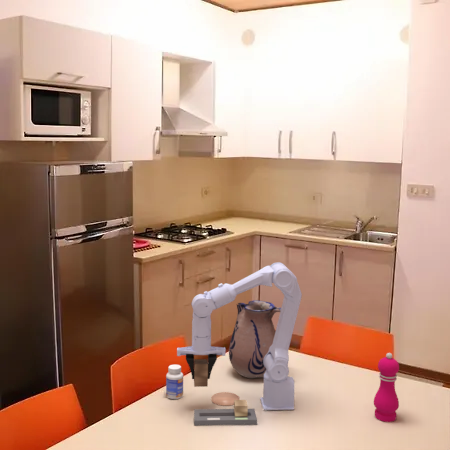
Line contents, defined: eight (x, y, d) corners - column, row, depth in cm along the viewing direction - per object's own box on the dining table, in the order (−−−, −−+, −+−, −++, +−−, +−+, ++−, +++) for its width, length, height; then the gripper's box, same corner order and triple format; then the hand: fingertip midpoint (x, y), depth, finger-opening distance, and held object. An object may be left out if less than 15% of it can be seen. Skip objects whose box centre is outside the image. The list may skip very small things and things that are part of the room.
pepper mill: (384, 425, 166) (388, 359, 163) (367, 414, 172) (371, 350, 169) (403, 419, 169) (407, 355, 166) (385, 409, 175) (389, 347, 173)
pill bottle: (180, 400, 179) (180, 370, 177) (163, 398, 180) (164, 369, 178) (185, 393, 184) (185, 364, 183) (169, 391, 185) (169, 362, 184)
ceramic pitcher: (231, 362, 211) (233, 296, 207) (289, 366, 208) (291, 299, 204) (225, 381, 194) (226, 310, 190) (287, 386, 191) (290, 314, 187)
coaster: (238, 393, 185) (238, 391, 185) (240, 405, 176) (241, 404, 176) (210, 393, 184) (210, 392, 184) (211, 406, 175) (211, 404, 175)
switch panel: (254, 413, 171) (254, 408, 171) (257, 424, 164) (257, 419, 164) (194, 413, 170) (194, 408, 170) (194, 425, 163) (194, 420, 163)
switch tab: (246, 410, 169) (246, 399, 169) (247, 416, 165) (247, 405, 165) (233, 410, 169) (234, 399, 169) (235, 416, 165) (235, 406, 165)
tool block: (207, 381, 176) (207, 359, 175) (207, 386, 172) (207, 364, 171) (194, 381, 175) (194, 359, 174) (194, 386, 171) (194, 364, 170)
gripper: (224, 330, 176) (223, 372, 178) (177, 330, 175) (177, 372, 177) (226, 337, 169) (225, 381, 171) (177, 338, 168) (176, 382, 170)
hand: (200, 377), depth 173 cm, fingers closed on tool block, 4 cm apart
